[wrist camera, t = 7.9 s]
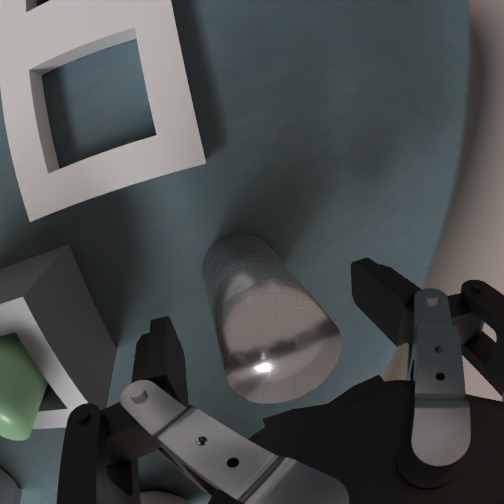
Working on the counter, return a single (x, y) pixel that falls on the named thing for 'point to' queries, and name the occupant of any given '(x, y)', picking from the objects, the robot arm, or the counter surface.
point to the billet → (266, 322)
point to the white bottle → (160, 498)
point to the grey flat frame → (72, 48)
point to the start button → (18, 389)
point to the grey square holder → (58, 332)
